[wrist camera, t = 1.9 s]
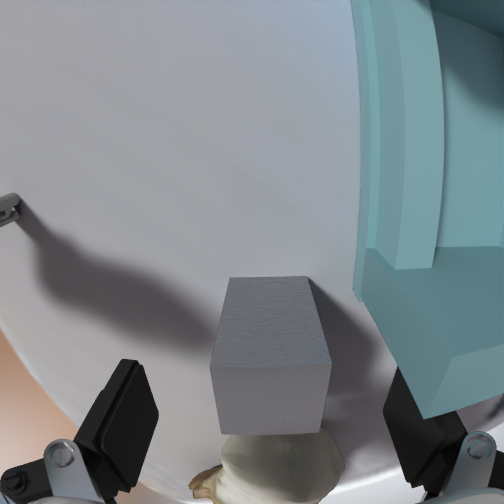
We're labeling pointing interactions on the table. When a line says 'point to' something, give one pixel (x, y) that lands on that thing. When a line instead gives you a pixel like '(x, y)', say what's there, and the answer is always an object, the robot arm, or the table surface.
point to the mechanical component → (8, 208)
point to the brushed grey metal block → (270, 358)
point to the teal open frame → (434, 193)
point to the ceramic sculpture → (273, 470)
